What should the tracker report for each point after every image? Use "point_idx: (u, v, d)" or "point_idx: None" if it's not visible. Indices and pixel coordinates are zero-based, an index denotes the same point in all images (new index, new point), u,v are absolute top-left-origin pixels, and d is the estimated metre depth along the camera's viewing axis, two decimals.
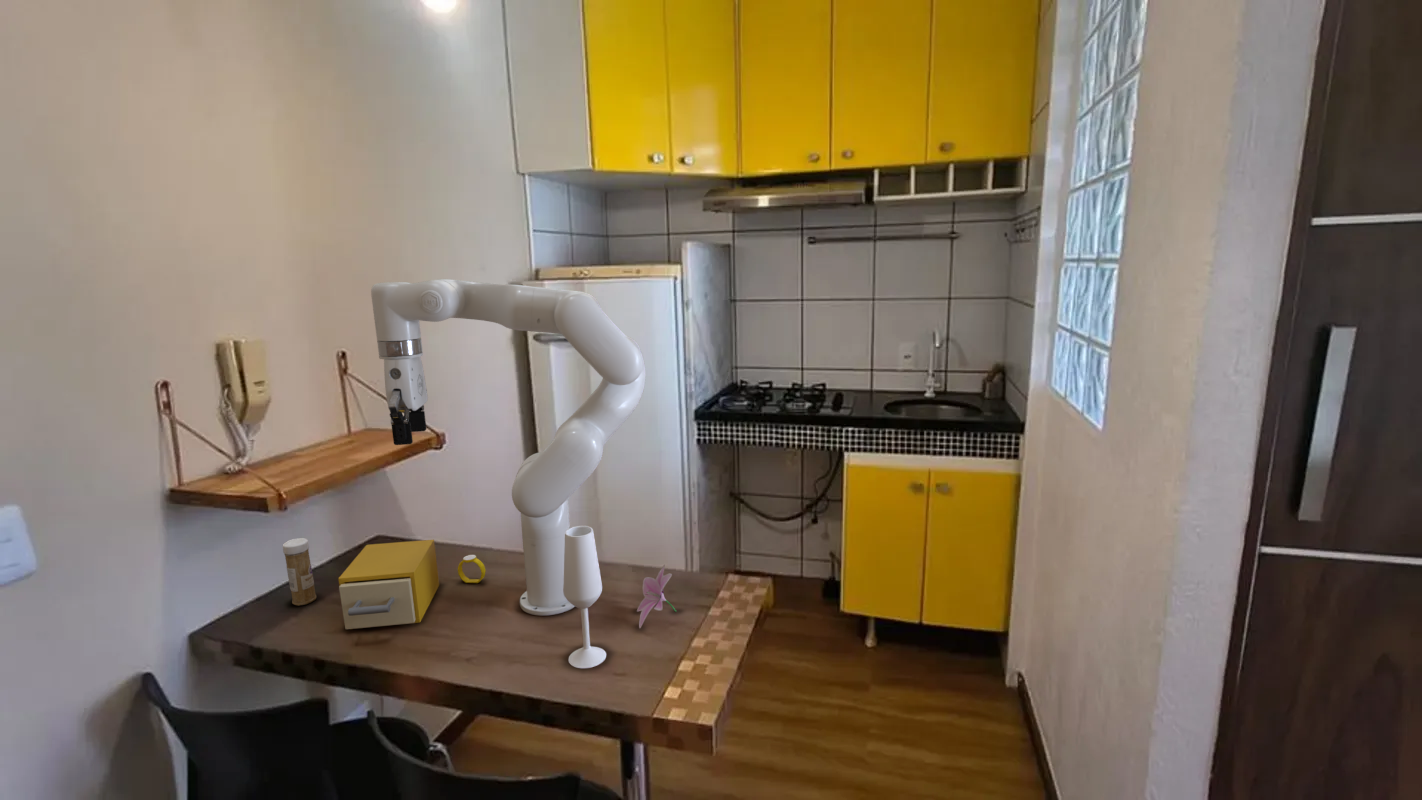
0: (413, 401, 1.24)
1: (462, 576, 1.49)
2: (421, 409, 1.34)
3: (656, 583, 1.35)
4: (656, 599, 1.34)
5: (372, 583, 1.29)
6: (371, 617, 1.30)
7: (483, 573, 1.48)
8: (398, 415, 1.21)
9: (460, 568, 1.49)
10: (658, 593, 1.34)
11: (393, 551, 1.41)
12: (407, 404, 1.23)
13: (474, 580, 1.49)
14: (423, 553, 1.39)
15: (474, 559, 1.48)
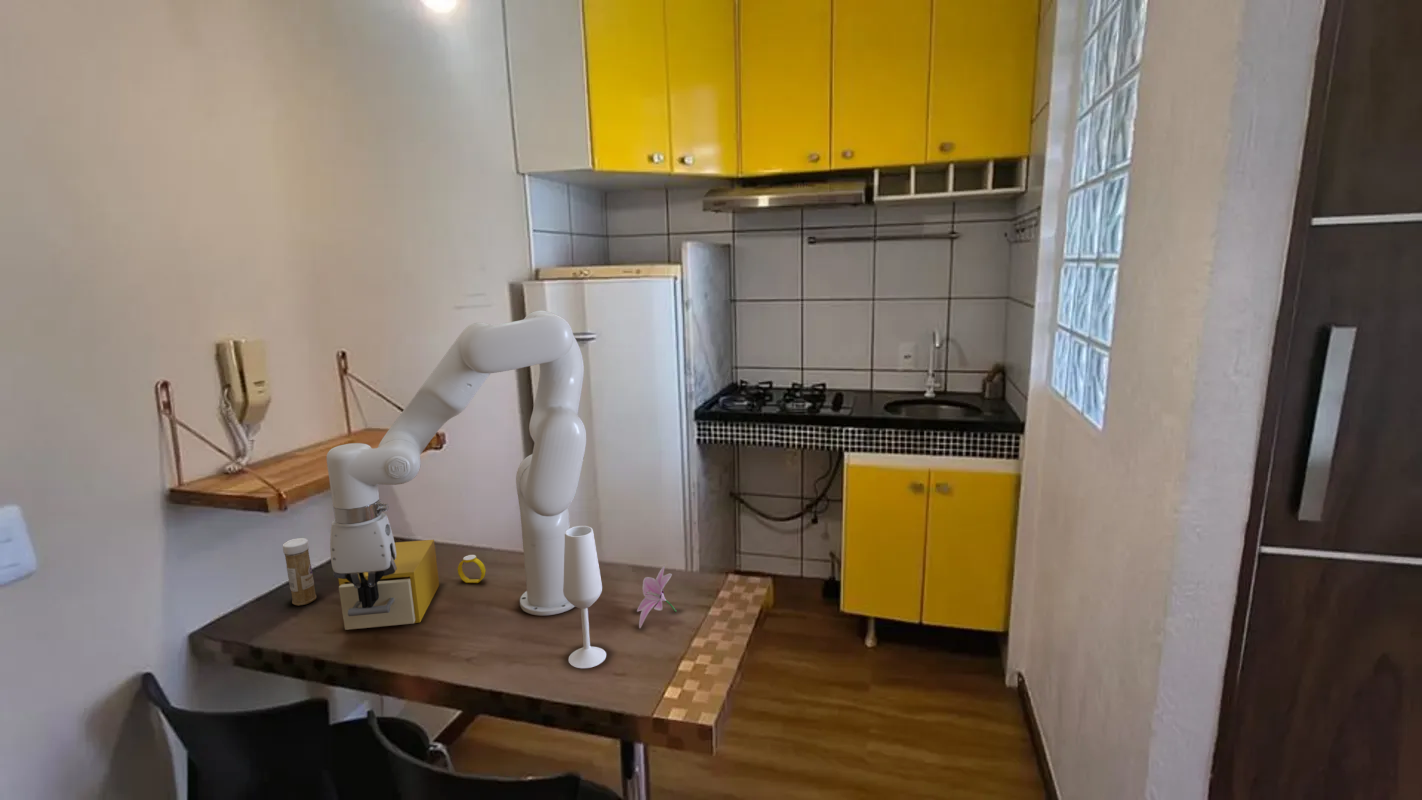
0: None
1: (462, 576, 1.49)
2: (365, 580, 1.26)
3: (656, 583, 1.35)
4: (656, 599, 1.34)
5: None
6: (371, 617, 1.30)
7: (483, 573, 1.48)
8: None
9: (460, 568, 1.49)
10: (658, 593, 1.34)
11: None
12: None
13: (474, 580, 1.49)
14: (423, 553, 1.39)
15: (474, 559, 1.48)
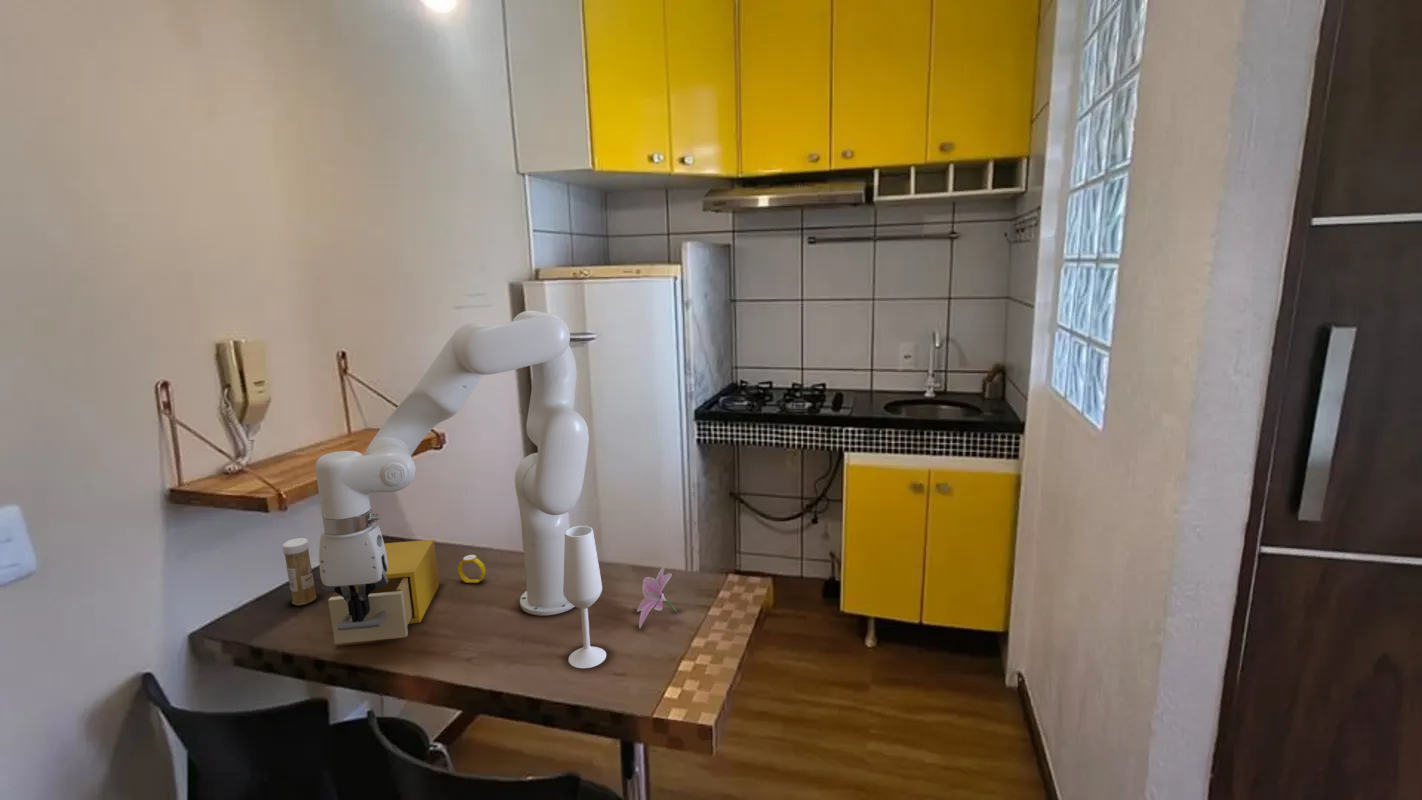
0: None
1: (462, 576, 1.49)
2: None
3: (656, 583, 1.35)
4: (656, 599, 1.34)
5: None
6: (362, 631, 1.25)
7: (483, 573, 1.48)
8: None
9: (460, 568, 1.49)
10: (658, 593, 1.34)
11: (393, 551, 1.41)
12: None
13: (474, 580, 1.49)
14: (423, 553, 1.39)
15: (474, 559, 1.48)
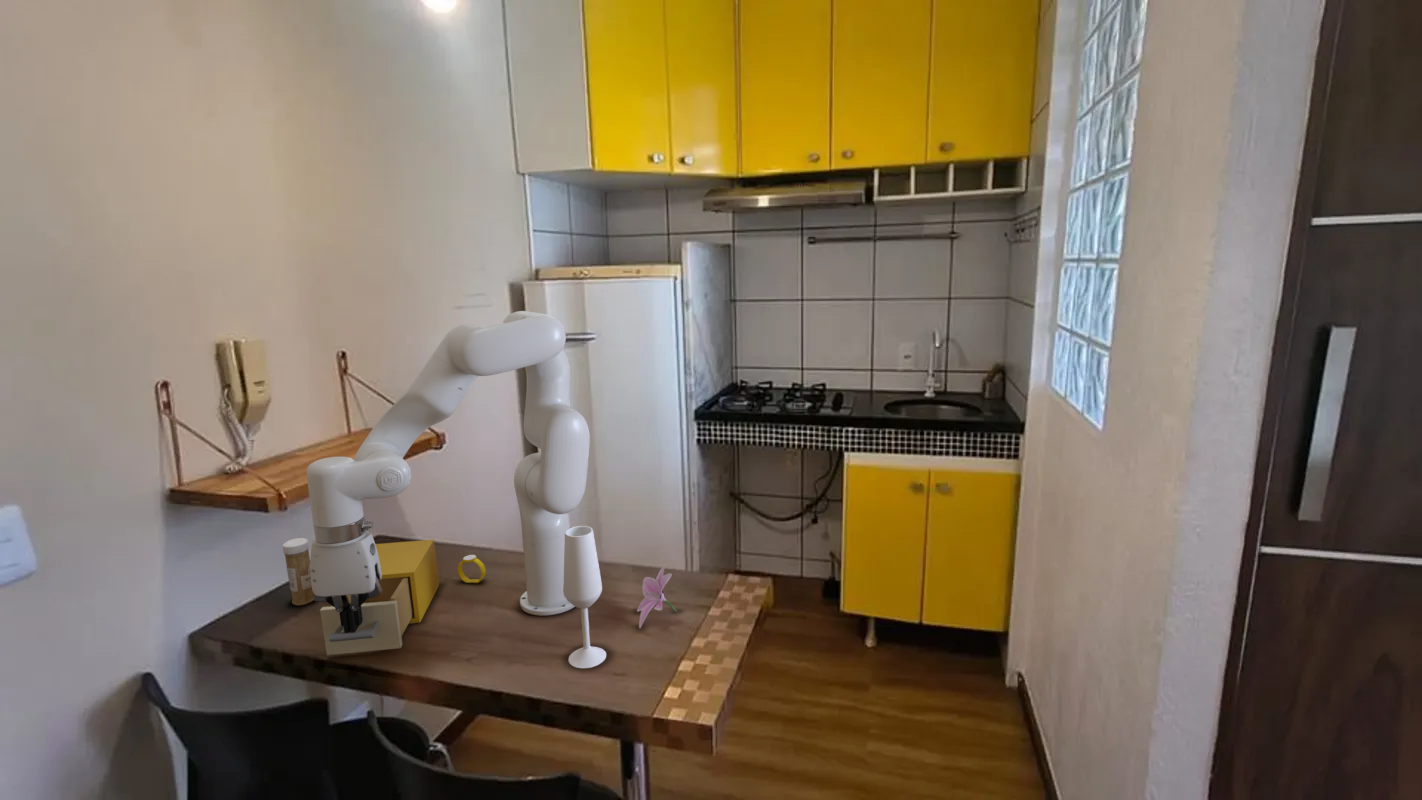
0: None
1: (462, 576, 1.49)
2: None
3: (656, 583, 1.35)
4: (656, 599, 1.34)
5: None
6: (354, 642, 1.21)
7: (483, 573, 1.48)
8: None
9: (460, 568, 1.49)
10: (658, 593, 1.34)
11: (393, 551, 1.41)
12: None
13: (474, 580, 1.49)
14: (423, 553, 1.39)
15: (474, 559, 1.48)
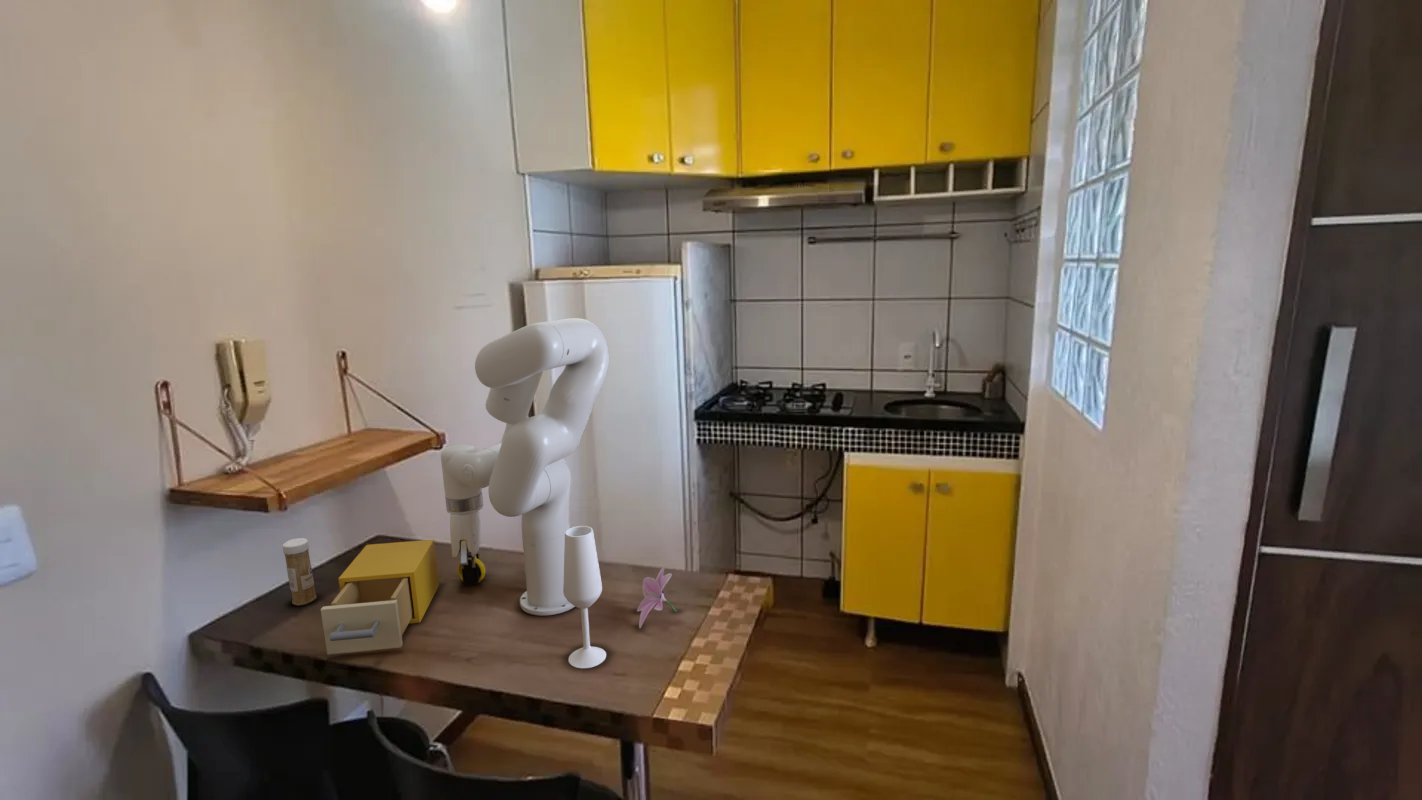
0: None
1: (462, 576, 1.49)
2: None
3: (656, 583, 1.35)
4: (656, 599, 1.34)
5: (356, 605, 1.20)
6: (355, 641, 1.21)
7: (483, 573, 1.48)
8: None
9: (460, 568, 1.49)
10: (658, 593, 1.34)
11: (393, 551, 1.41)
12: None
13: None
14: (423, 553, 1.39)
15: None
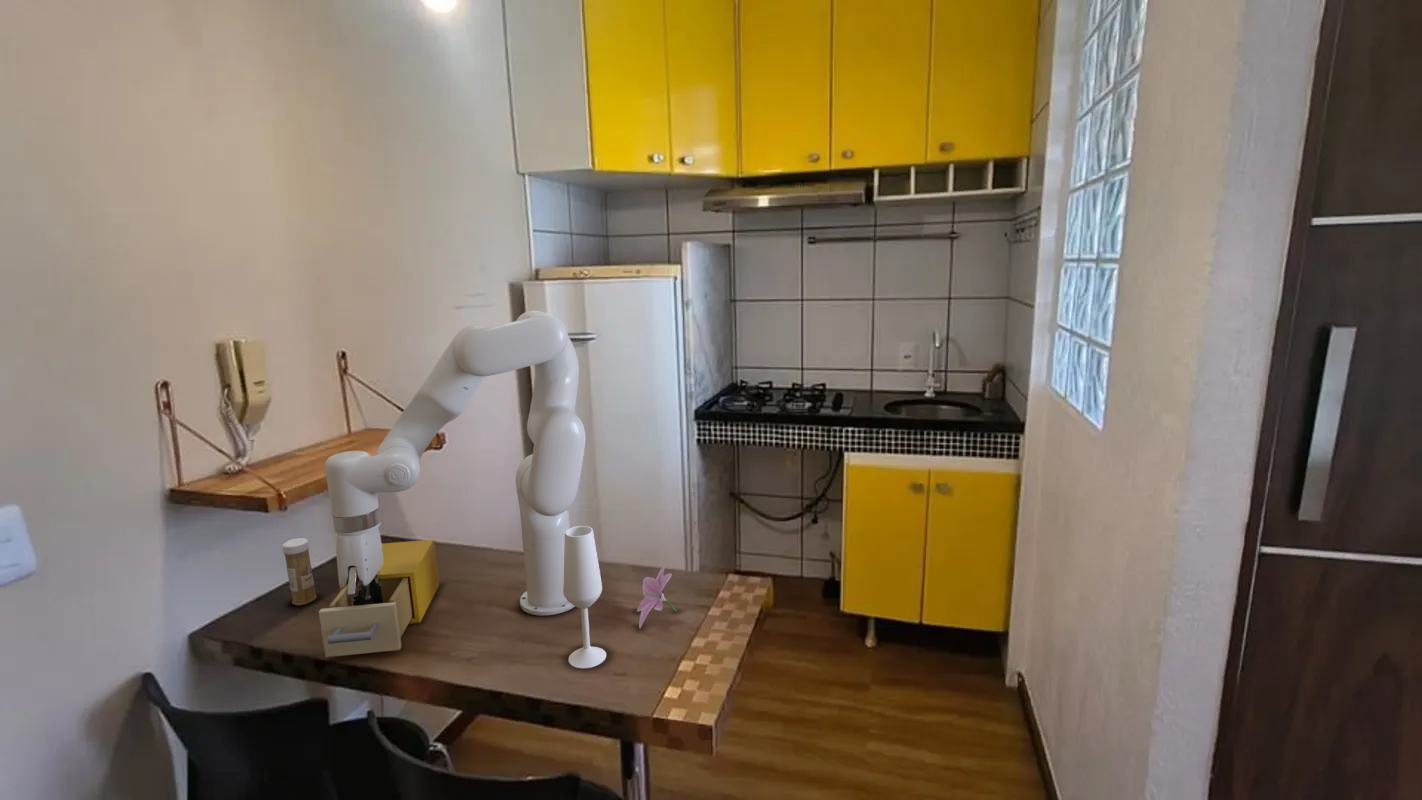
0: None
1: None
2: None
3: (656, 583, 1.35)
4: (656, 599, 1.34)
5: (354, 608, 1.20)
6: (353, 644, 1.21)
7: None
8: None
9: None
10: (658, 593, 1.34)
11: (393, 551, 1.41)
12: None
13: None
14: (423, 553, 1.39)
15: None
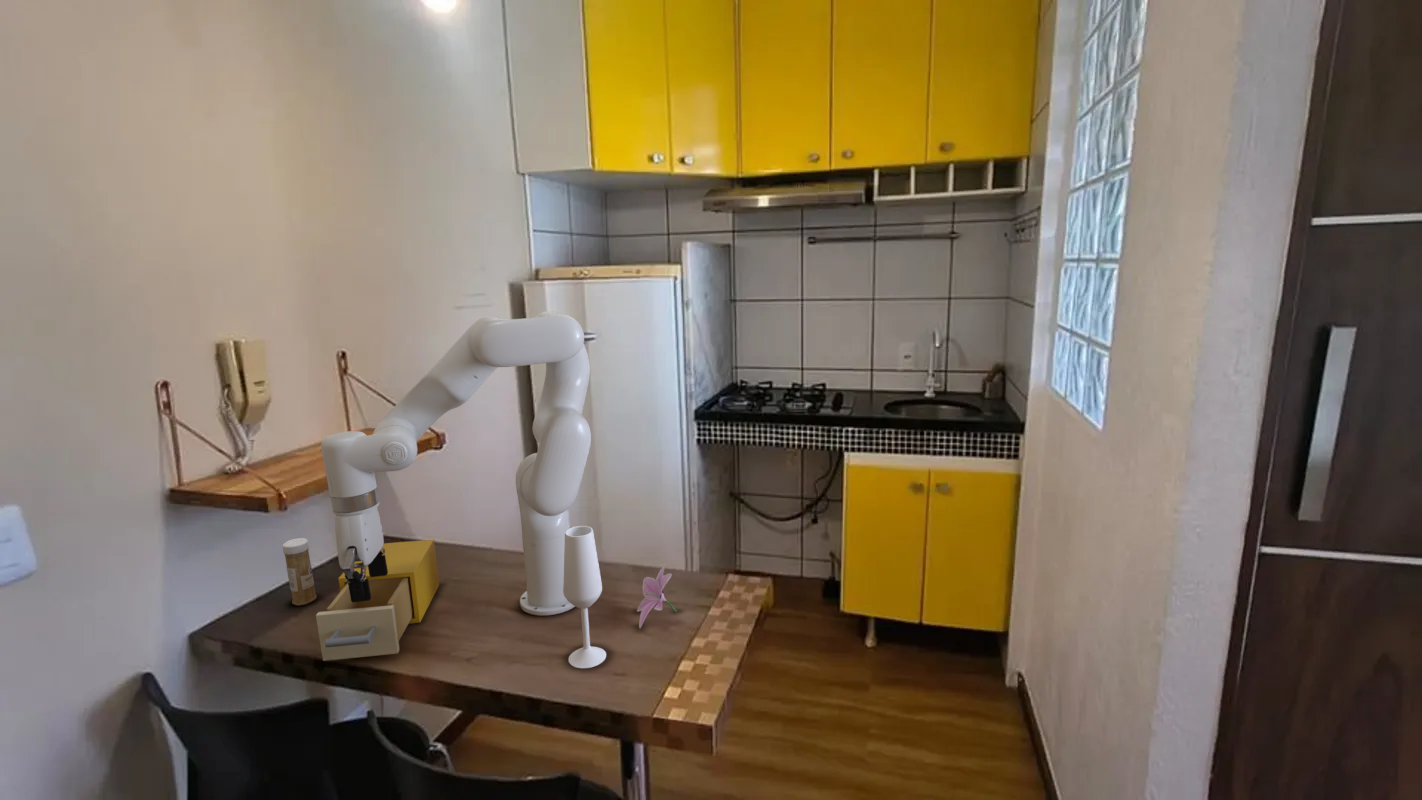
0: None
1: None
2: None
3: (656, 583, 1.35)
4: (656, 599, 1.34)
5: (352, 611, 1.19)
6: (351, 647, 1.20)
7: None
8: None
9: None
10: (658, 593, 1.34)
11: (393, 551, 1.41)
12: None
13: None
14: (423, 553, 1.39)
15: None
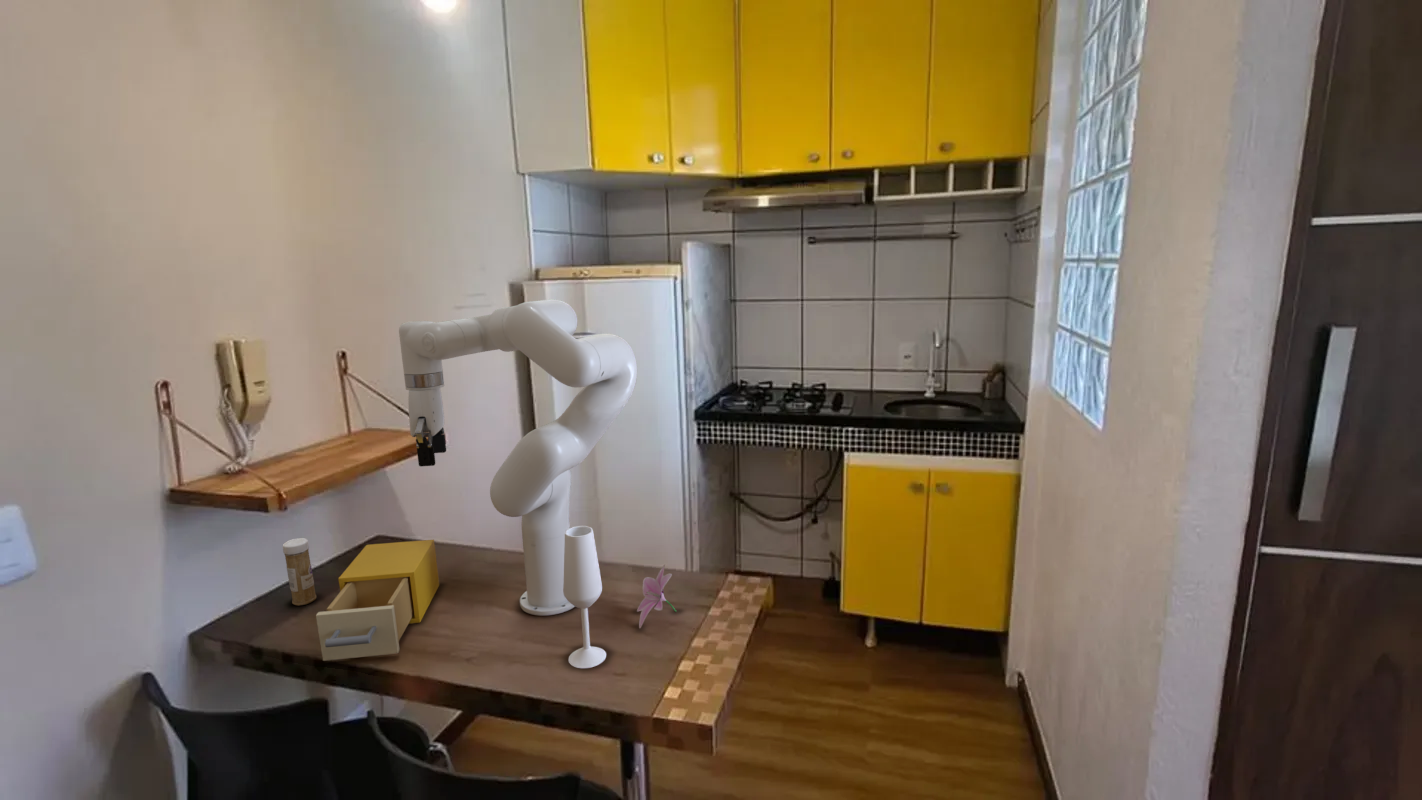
0: None
1: None
2: None
3: (656, 583, 1.35)
4: (656, 599, 1.34)
5: (352, 611, 1.19)
6: (351, 647, 1.20)
7: None
8: None
9: None
10: (658, 593, 1.34)
11: (393, 551, 1.41)
12: None
13: None
14: (423, 553, 1.39)
15: None
